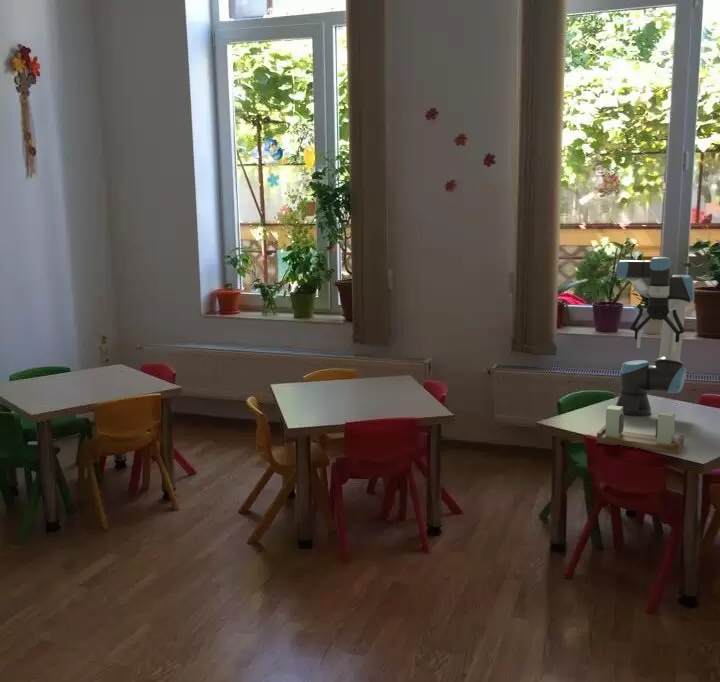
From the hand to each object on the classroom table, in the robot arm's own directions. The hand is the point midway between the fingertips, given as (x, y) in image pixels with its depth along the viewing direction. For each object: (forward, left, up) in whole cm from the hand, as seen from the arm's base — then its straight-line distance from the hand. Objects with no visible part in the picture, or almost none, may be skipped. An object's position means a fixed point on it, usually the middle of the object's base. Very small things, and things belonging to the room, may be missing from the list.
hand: (656, 349), depth 303 cm
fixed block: (+19, -11, -32) cm, 39 cm away
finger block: (+19, +8, -32) cm, 38 cm away
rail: (+19, -1, -35) cm, 40 cm away
